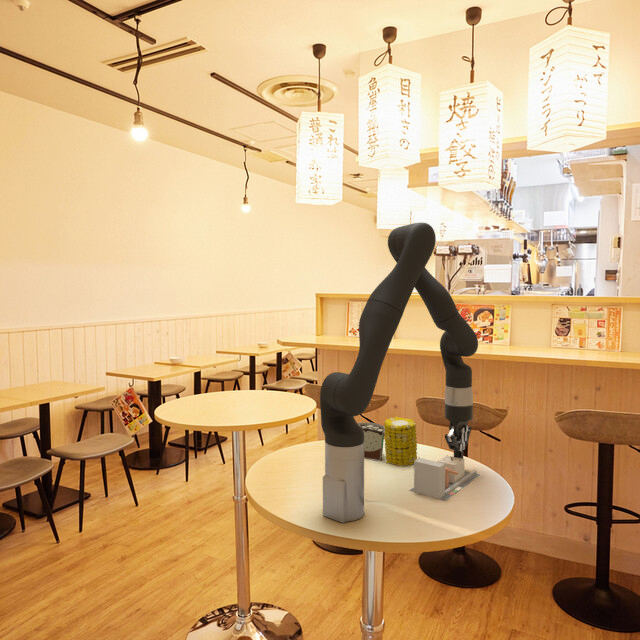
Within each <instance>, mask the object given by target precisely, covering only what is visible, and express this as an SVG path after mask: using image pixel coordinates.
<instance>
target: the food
mask: <svg viewBox="0 0 640 640" xmlns="http://www.w3.org/2000/svg"><path fill="white" fill-rule="evenodd" d="M383 426H384V428H385V437H384V448H385V464H392V465H395V466H400V467H401V466H412V465H414V461H415V460H417V459H418V456H417V455H418V452H417V450H418V445H417V442H418V440H417V427H416V426H417V423H416V421H415V420H413V419H412V418H404V417H399V416H394V417H389V418H386V420H385V421H384V425H383Z"/></svg>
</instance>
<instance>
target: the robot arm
mask: <svg viewBox="0 0 640 640" xmlns="http://www.w3.org/2000/svg"><path fill="white" fill-rule="evenodd" d="M387 237H388V238H387V249H388V250H389V251H388V252H389V253H390V255H391V257H392V258H393V259H394V261H395V265H394V267H393V269H392V270H391V271H390V272H389V273H388V274H387V276H386V277H385V278H384V279H383V280H382V281H381V282H380V283H379V284H378V285H377V286H376V288H375V289H374V290H373V291H372V293H371V294H370V296H369V297H368V298H367V300H366V303H365V305H364V307H363V310H362V312H361V314H360V317H359V322H358V339H359V340H358V341H359V349H358V354H357V358H356V359H355V362H354V364H353V367H352V369H351V371H350V372H349V373H345V372H340V371H335V372H331V373H329V374H328V375H327V376H326V377H325V378H324V379H323V381H322V384H321V386H320V391H319V392H320V393H319V406H320V423H321V429H322V432H323V434H324V475H322V516H323V517H326V518H328V519H332V520H334V521H337V522H340V523H342V524H344V523H346V522H352V521H356V520H359V519H361V518H362V517H363V516H364V515H365V458H364V431H363V429H362V428H361V427H360V426H359V425H358V423H359V422H357V421H356V419H355V417H357V416H360V415H362V414H363V413H364V412H365V411H366V409H367V408H368V407H369V405H370V403H371V401H372V398H373V395H374V391H375V388H376V387H377V382H378V379H379V375H380V374H381V373H380V372H381V369H382V365H383V363H384V361H385V358H386V355H387V353H388V350H389V347H390V345H391V342H392V340H393V338H394V335H395V333H396V331H397V329H398V327H399V324H400V323H401V320H402V318H403V315H404V312H405V310H406V307H407V304H408V302H409V301H410V298H411V296H412V293H413V292H414V289H415V291H416V292H417V293H418V295H419V297H420V298H421V300H422V301H423V303H424V305H425V307H426V309H427V311H428V313H429V315H430V317H431V319H432V321H433V323H434V325H435V326H436V328H437V329H439V330H441V331H444V332H443V333H442V335H441V336H440V337H441V338H440V340H439V348H440V349H439V350H440V353H441V359H442V362H443V366H444V369H445V387H444V388H445V389H444V418H445V419H446V420H448V421H449V426H448V432H449V433H446V434H444V440H445V441H446V444H447V446H448V449H449V450H452V451H453V457H457V458H461V459H464V450H465V449H466V447H467V446H468V444H469V441H470V437H471V436H470V435H471V432H472V429H473V427H472V425H471V426H470V425H468V424H469V422H470V421H472V420H473V418H474V416H473V415H474V395H473V394H474V393H473V369H472V367H471V366H470V365H468V364H467V363H466V362H464V360H463V357H464V358H467V357H468V358H469V357H471V356H474V354H475V353H476V352H477V351H478V347H479V340H478V337H477V334H476V332H475V331H474V330H473V328H472V327H471V325H469V323H468V322H467V321H466V319H465V318H464V317H463V316H462V315H461V314H460V312H459V309H458V308H457V306H456V303H455V302H454V299H453V297H452V295H451V294H450V292H449V291H448V290H447V289H446V287H445V286H444V285H443V284H442V283H441V282H440V281H439V280H437V279H436V278H435V276H433V275H432V274H431V273H430V272H429V270H427V268H426V266H427V264H428V262H429V260H431V259H430V258H431V257H432V255H433V253H434V250H435V247H436V240H437V238H436V231H435V229H434V228H433V226H431V225H430V224H428V223H427V222H414V223H413V222H412V223H410V224H406V225H405V224H404V225H402V226H398V227H395V228H394V229H393V230H392V231H390V233H389V235H388V236H387Z"/></svg>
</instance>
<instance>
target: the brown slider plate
mask: <svg viewBox="0 0 640 640" xmlns="http://www.w3.org/2000/svg"><path fill="white" fill-rule="evenodd" d="M449 473H451V474H455V475H458V472H456V471H452V470H449V468H446V467H445V488H448V487H449Z"/></svg>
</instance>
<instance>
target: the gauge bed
mask: <svg viewBox="0 0 640 640" xmlns="http://www.w3.org/2000/svg"><path fill="white" fill-rule="evenodd" d="M413 469H414V470H413V486H414V487H412V488H410V489H408V491H409V492H413V493H416V494H418V495H422V496H427V497H429V498H433V499H437V500H440V501H444V502H446V501H448V499H450V498H452V497H453V496H455V495H456V494H457V493H459V491H461V490H462V489H464V488H465V487H467V486H468V485H469V484H470V483H471V482H473V481H475V479H477V478H478V477H480V476H481V474H480V473H477V470H474V469H473V470H472V471H467V470H464V477H463V478H462V479H460V480H459V481H458V482H456V483H455V484H453V483H450V482H449V487H448V488H445V464H444V463H440V462H437V461H434V460H430V459H426V458H421V457H419V458H417V460H415V461H414V464H413Z"/></svg>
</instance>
